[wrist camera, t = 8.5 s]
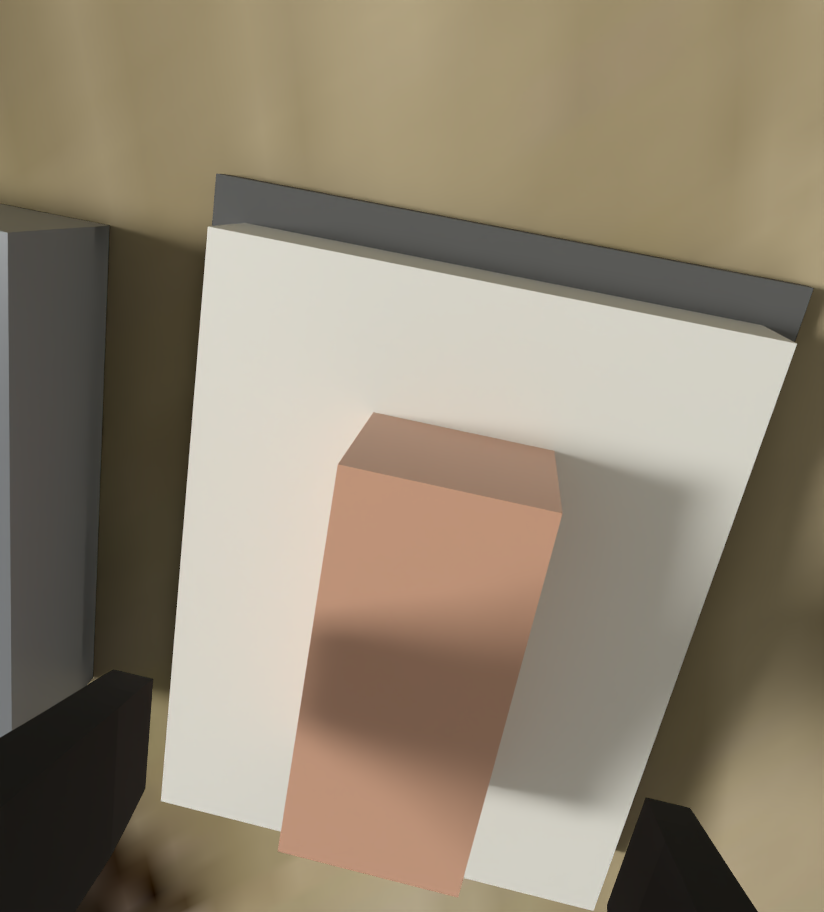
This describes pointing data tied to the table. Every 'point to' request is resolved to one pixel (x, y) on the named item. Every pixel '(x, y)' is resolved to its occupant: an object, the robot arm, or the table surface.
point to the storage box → (49, 455)
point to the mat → (514, 253)
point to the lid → (445, 555)
